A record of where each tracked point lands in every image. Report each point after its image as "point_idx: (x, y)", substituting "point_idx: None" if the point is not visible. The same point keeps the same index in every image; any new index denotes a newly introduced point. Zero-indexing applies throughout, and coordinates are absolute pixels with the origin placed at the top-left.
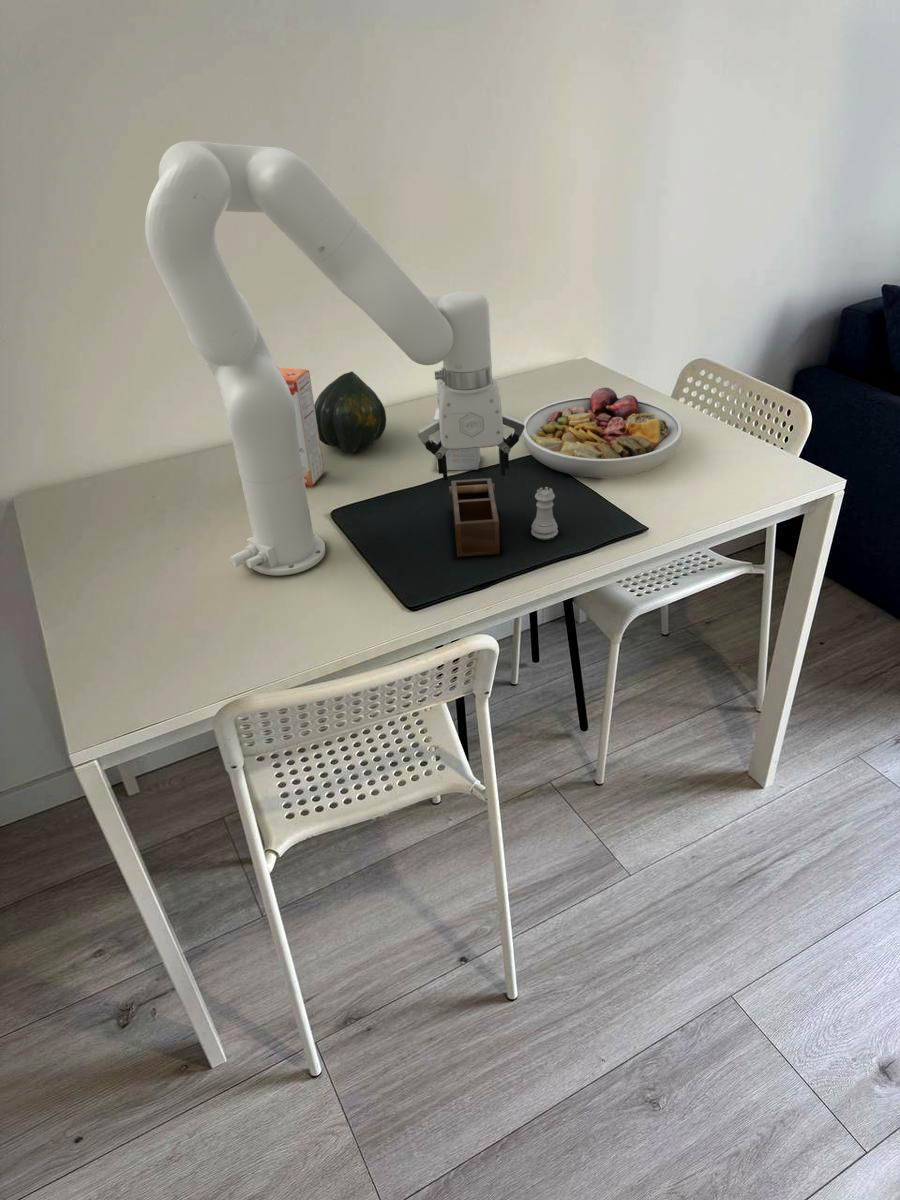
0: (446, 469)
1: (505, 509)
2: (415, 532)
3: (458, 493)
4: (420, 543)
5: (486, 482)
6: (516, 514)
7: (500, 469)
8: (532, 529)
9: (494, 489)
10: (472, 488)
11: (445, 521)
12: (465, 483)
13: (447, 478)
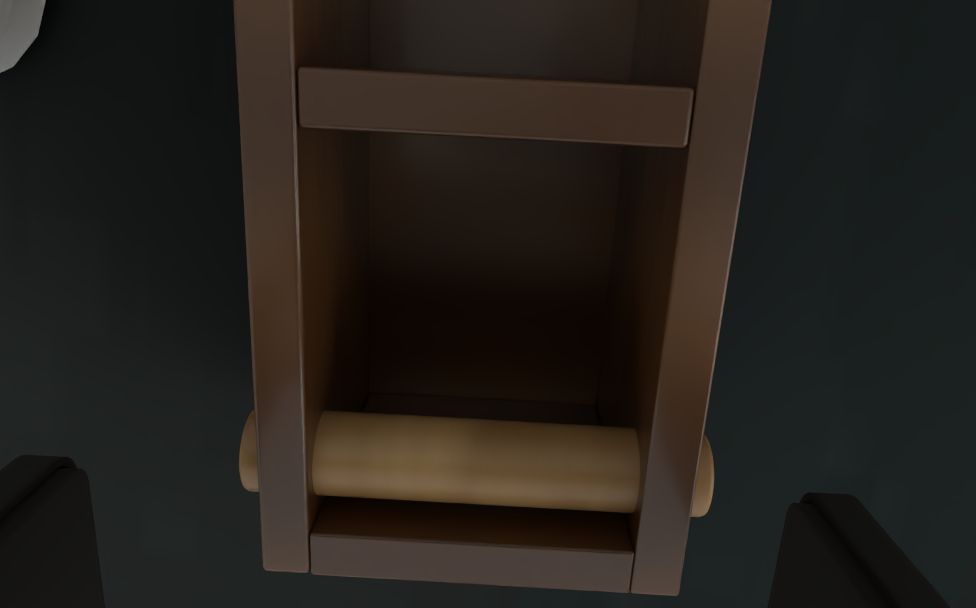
0: (869, 599)
1: (247, 398)
2: (954, 194)
3: (617, 427)
4: (959, 9)
5: (318, 518)
6: (170, 315)
7: (69, 558)
8: (30, 5)
9: (252, 412)
10: (474, 441)
11: None
12: (535, 535)
13: (801, 505)
